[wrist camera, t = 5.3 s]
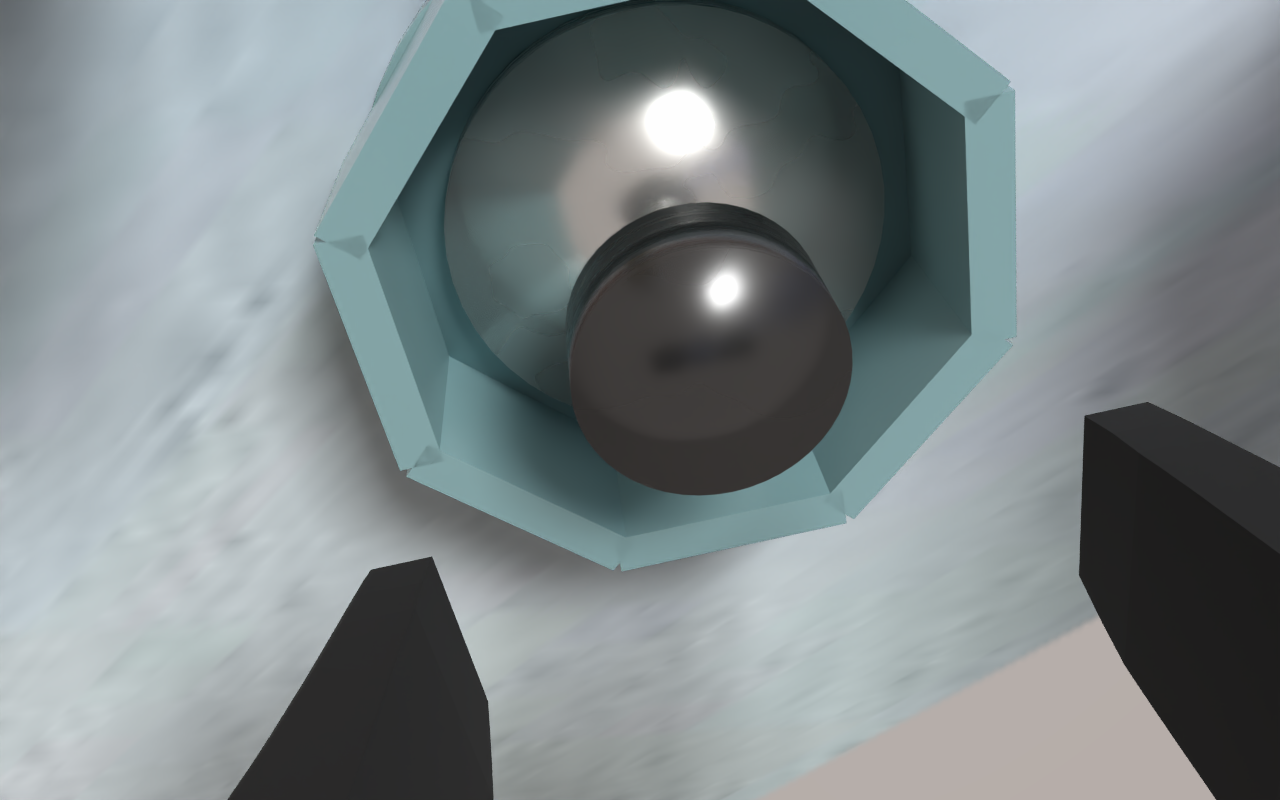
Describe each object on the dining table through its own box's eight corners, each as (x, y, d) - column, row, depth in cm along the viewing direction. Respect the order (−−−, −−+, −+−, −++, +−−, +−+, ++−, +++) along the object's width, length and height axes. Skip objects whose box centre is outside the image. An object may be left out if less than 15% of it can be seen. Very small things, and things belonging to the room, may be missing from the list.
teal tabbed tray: (912, -363, 15) (1021, -389, 12) (947, 376, 22) (1023, 490, 18) (216, -204, 15) (137, -187, 12) (458, 483, 22) (448, 613, 19)
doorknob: (856, -51, 16) (986, 31, 12) (888, 357, 20) (996, 537, 16) (387, 53, 16) (340, 175, 12) (508, 439, 20) (507, 641, 16)
